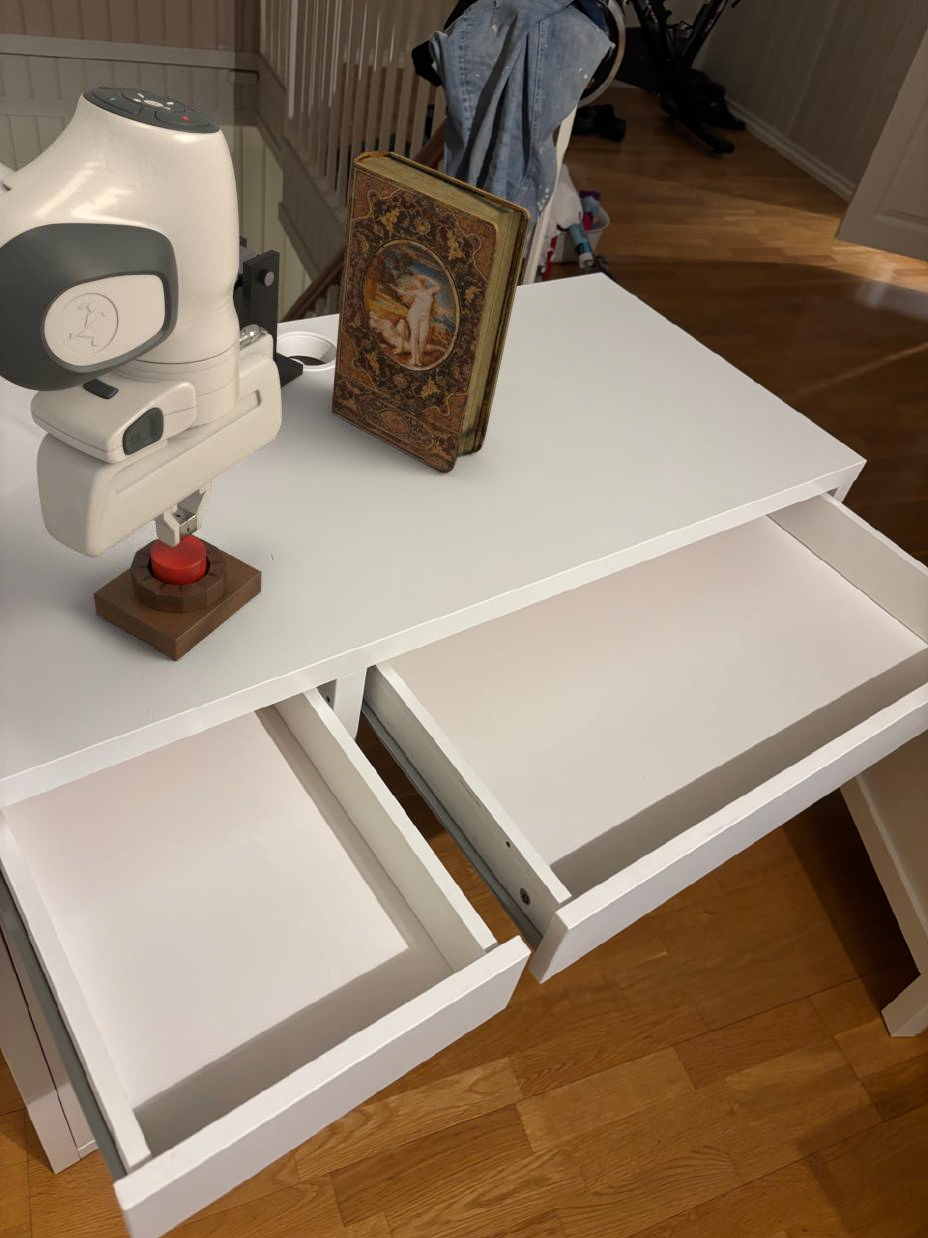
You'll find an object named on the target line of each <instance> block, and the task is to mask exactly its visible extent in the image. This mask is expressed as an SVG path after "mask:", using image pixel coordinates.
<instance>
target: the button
mask: <svg viewBox="0 0 928 1238" xmlns="http://www.w3.org/2000/svg"><path fill="white" fill-rule="evenodd" d="M158 539H159V538H158ZM151 563H152V571H153V574H154V575H155V576H156V578H158V579H159V580H160V581H162V582H164V583H167V584H171V585H186V584H190V583H193V582H195V581H197V580H199V579H200V578H201V577H202V576H203V575H204V573H205V571H206V549H205V546H204V545H203V543H202V542H201V541H200V540H198V539H197V538H194V537H192V536H188V537H186V538H185V539H184V540H182V541H181V542H180V543H178V544H177V545H176V546H174V547H171V546H169V545H168V544H166V543H164V542H162V541H160V539H159V540H157V541H156V542H155V543H154V544H153V546H152V548H151Z"/></svg>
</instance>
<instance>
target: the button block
mask: <svg viewBox="0 0 928 1238" xmlns="http://www.w3.org/2000/svg"><path fill="white" fill-rule="evenodd" d="M189 536H192V537H194V538H197V539H198V540H200V541H201V542H202V543H203V545H204V546H205V549H206V571H205V573H204V575H203V576H202V577H201V578H200V579H199V580H197V581H195V582H193V583H190V584H186V585H171V584H167V583H164V582H162V581H160V580H159V579H158V578H156V576H155V575H154V574H153V571H152V563H151V548H152V546H153V544H154V543H155V542H156V541H157V540H159V538H156V539H153V540H151V541H150V542H148V543H146V545H144V546H143V547H141V548H140V549H138V550H137V551H136V552H135V554H134V556H133V559H132V562H131V564H130V566H129V568H127V569H126V570H125V571H123V572H122V573H120V574H119V575H117V576H116V577H115V578H113V579H112V580H110V581H109V582H107V583H106V584H105V585H102V587H100V588H99V589H98V590H96V591H94V593H93V594H92V595H93V601H94V608H95V614H96V615H97V616H99V617H101V618H103V619H104V620H106V621H108V622H110V623H111V624H113V625H114V626H116V627H118V628H120V629H121V630H122V631H125V632H126V633H128V634H130V635H132V636H134V637H135V638H137V639H138V640H140V641H141V642H143V643H145V644H147V645H149V646H150V647H152V648H154V649H156V650H157V651H158V652H160V653H162V654H164V655H166V656H167V657H169V658H171V659H172V660H174V661H179V660H180V659H182V657H184V656H185V655H186V654H188V653H189V652H190V651H191V650H192V649H193V648H194V647H196V646H197V645H199V644H200V642H202V641H203V640H204V639H205V638H207V637H208V636H209V635H210V634H211V633H213V632H214V631H215V630H216V629H218V628H219V627H220V626H222V624H224V623H225V622H226V621H227V620H229V618H231V617H232V616H233V615H234V614H235V613H237V612H238V611H240V610H241V609H242V608H244V606H245V605H246V604H248V603H249V602H251V600H253V599H254V598H255V597H256V596H257V595H258V594H260V593H261V592H262V575H263V573H262V571H261V570H259V569H258V568H256V567H253V566H252V565H250V564H249V563H246V562H245V561H242V560H240V559H239V558H237V557H235V556H233V555H231V554H230V553H228V552H226V551H224V550H222V549H220V548H219V547H218V546H216V545H214V544H212V543H211V542H208V541H207V540H205V539H203V538H201V537H198V536H197V535H194V534H193V533H192V534H191V535H189Z"/></svg>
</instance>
